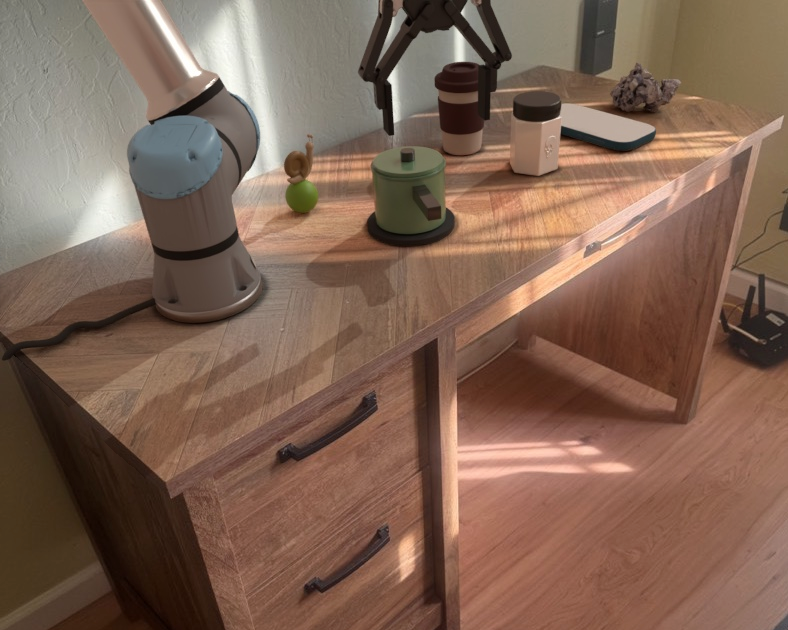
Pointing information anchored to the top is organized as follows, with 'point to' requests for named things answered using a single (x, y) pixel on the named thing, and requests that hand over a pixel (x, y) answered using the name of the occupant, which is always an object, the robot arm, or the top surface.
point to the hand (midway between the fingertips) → (436, 124)
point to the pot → (409, 189)
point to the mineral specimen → (643, 90)
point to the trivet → (411, 238)
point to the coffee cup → (459, 108)
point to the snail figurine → (300, 180)
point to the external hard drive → (604, 128)
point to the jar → (535, 132)
